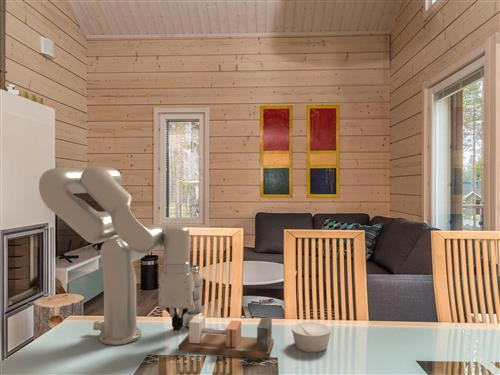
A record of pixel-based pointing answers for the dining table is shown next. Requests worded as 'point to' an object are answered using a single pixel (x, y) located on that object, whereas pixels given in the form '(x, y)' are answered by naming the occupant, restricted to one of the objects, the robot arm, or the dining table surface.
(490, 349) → the dining table surface
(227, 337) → the block
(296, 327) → the ramekin
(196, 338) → the plunger
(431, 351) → the dining table surface
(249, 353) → the base
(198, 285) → the plastic bottle
